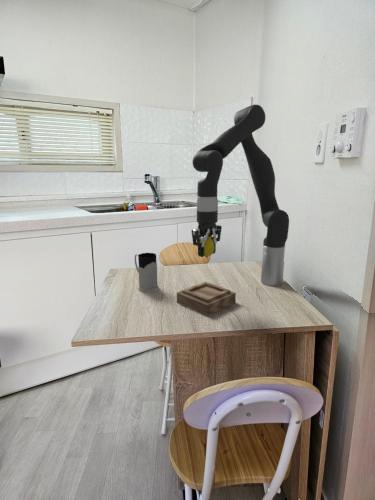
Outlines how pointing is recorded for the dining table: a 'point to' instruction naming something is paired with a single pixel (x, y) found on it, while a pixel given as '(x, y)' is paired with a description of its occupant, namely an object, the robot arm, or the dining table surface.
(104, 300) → the dining table surface
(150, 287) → the glass holder
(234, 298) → the brown wooden crate
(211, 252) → the lemon
